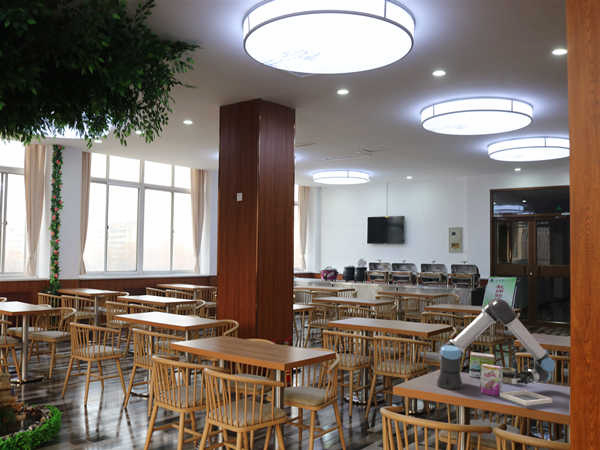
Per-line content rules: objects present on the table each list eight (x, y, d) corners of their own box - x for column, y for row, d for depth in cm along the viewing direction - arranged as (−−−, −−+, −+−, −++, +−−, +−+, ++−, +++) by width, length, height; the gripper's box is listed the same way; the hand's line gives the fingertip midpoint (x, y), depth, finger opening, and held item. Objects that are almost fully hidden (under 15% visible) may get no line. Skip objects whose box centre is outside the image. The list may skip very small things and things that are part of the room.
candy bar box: (479, 393, 310) (480, 364, 311) (481, 391, 314) (482, 363, 315) (499, 397, 304) (500, 368, 304) (501, 395, 308) (502, 366, 309)
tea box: (469, 376, 351) (470, 354, 352) (469, 373, 360) (470, 351, 361) (493, 379, 346) (494, 356, 347) (493, 376, 356) (493, 353, 357)
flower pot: (495, 380, 343) (496, 367, 343) (507, 380, 346) (508, 366, 347) (506, 384, 334) (506, 370, 335) (518, 384, 337) (518, 370, 338)
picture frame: (499, 398, 300) (500, 392, 300) (525, 396, 309) (525, 390, 309) (525, 408, 284) (526, 401, 284) (552, 405, 292) (552, 398, 292)
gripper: (546, 388, 311) (519, 390, 302) (512, 377, 333) (486, 379, 324) (546, 375, 311) (520, 377, 302) (512, 365, 334) (487, 367, 325)
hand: (502, 378), depth 313 cm, fingers open, 13 cm apart
